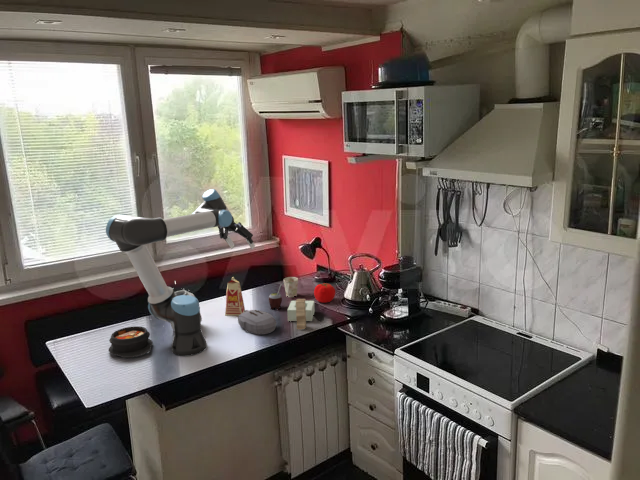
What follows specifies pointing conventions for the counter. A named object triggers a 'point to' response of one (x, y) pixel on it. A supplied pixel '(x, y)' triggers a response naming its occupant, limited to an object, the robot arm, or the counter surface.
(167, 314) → the robot arm
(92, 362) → the counter surface
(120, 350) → the casserole
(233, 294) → the milk carton
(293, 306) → the socket block
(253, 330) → the small grey backpack
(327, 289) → the tomato
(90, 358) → the counter surface
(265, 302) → the counter surface
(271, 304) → the mate gourd
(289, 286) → the mug
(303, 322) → the peg
